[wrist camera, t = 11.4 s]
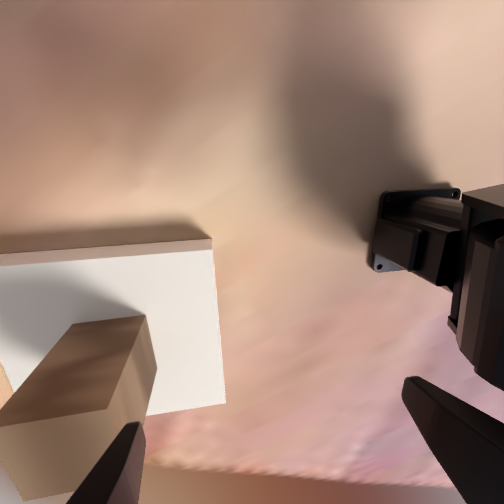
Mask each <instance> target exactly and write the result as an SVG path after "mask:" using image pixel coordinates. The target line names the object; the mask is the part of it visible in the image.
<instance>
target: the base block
mask: <svg viewBox="0 0 504 504" xmlns="http://www.w3.org/2000/svg"><path fill="white" fill-rule="evenodd" d="M140 315H146V318H147V322H148V327H149V332H150V336H151V341H152V345H153V350H154V355H155V359H156V364H157V372H156V376H155V380H154V384H153V388H152V392H151V396H150V400H149V405H148V409H147V413H146V416H148V415H154V414H161V413H167V412H173V411H179V410H185V409H192V408H198V407H204V406H210V405H217V404H223V403H226V399H225V384H224V372H223V360H222V349H221V337H220V326H219V314H218V303H217V291H216V279H215V268H214V256H213V245H212V239H199V240H186V241H172V242H159V243H145V244H131V245H118V246H104V247H91V248H77V249H63V250H50V251H36V252H23V253H9V254H0V361H1V363H2V366H3V368H4V370H5V372H6V375H7V377H8V379H9V381H10V384H11V386H12V388H13V390H14V393H15V392H16V391H17V389H18V388H19V387H20V386H21V385H22V383H23V382H24V381H25V380H26V379H27V377H28V376H29V375H30V374H31V373H32V372H33V370H34V369H35V368H36V367H37V366H38V364H39V363H40V362H41V361H42V360H43V358H44V357H45V356H46V355H47V354H48V352H49V351H50V350H51V349H52V348H53V347H54V345H55V344H56V343H57V342H58V341H59V339H60V338H61V337H62V336H63V335H64V333H65V332H66V331H67V330H68V329H69V327H70V326H71V325H72V324H75V323H83V322H91V321H99V320H107V319H116V318H124V317H132V316H140Z"/></svg>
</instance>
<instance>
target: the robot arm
mask: <svg viewBox="0 0 504 504" xmlns="http://www.w3.org/2000/svg"><path fill="white" fill-rule="evenodd" d="M452 193H453V196H452ZM460 194H461V191H460V189H458V188H434V189H416V190H397V191H385V192H384V193H382V195H381V197H380V202H379V210H378V218H377V221H376V228H375V235H374V243H373V255H372V263H371V268H372V270H374V271H376V272H389V271H399V270H407V271H408V272H412V273H414V274H416V275H417V276H419V277H421V278H423V279H425V280H427V281H428V282H430V283H432V284H434V285H436V286H440V287H442V288H444V289H446V290H447V291H449V292H451V293H453V296H452V305H451V314H450V316H448V323H447V324H448V326H449V327H450V328H451V329H452V331H453V332H454V333H455V335H456V340H457V343H458V346H459V349H460V351H461V352H462V353H463V354H464V356H465V357H466V358H467V359H468V360H469V361H470V363H471V364H472V365H474V371H475V373H476V374H478V375H479V376H480V377H482V378H483V379H485V380H486V381H487V382H489V383H490V384H492V385H493V386H495V387H497V388H499V389H501V390H502V391H504V184H501V185H496V186H492V187H487V188H482V189H478V190H473V191H468V192H464V193H462V199H461V200H459V199H460ZM388 195H389V199H388V200H386V198H387V196H388ZM379 264H380V265H379ZM378 265H379V267H378V268H377V266H378ZM401 395H402V400H403V402H404V404H405V406H406V408H407V409H408V411H409V413H410V415H411V416H412V418H413V420H414V422H415V424H416V425H417V427H418V429H419V431H420V432H421V434H422V436H423V438H424V439H425V441H426V443H427V445H428V446H429V448H430V450H431V451H432V453H433V454H434V456H435V457H436V459H437V460H438V462H439V463H440V465H441V466H442V468H443V469H444V471H445V472H446V474H447V475H448V477H449V478H450V480H451V481H452V483H453V484H454V486H455V487H456V488H457V490H458V491H459V493H460V494H461V496H462V497H463V499H464V500H465V502H466V503H467V504H504V423H502V422H500V421H498V420H497V419H495V418H493V417H491V416H489V415H488V414H486V413H484V412H482V411H480V410H478V409H477V408H475V407H473V406H471V405H469V404H468V403H466V402H464V401H462V400H460V399H459V398H457V397H455V396H453V395H451V394H450V393H448V392H446V391H444V390H442V389H441V388H439V387H437V386H435V385H433V384H432V383H430V382H428V381H426V380H424V379H422V378H421V377H418V376H411V377H406V378H405V380H404V384H403V389H402V394H401ZM145 447H146V440H145V435H144V431H143V427H142V423H141V422H140V421H135V422H129V423H127V424H125V425H124V427H123V428H122V429H121V431H120V432H119V433H118V435H117V436H116V437H115V439H114V440H113V441H112V443H111V444H110V445H109V447H108V448H107V449H106V451H105V452H104V453H103V455H102V456H101V457H100V459H99V460H98V461H97V463H96V464H95V465H94V467H93V468H92V469H91V471H90V472H89V473H88V475H87V476H86V477H85V479H84V480H83V481H82V483H81V484H80V485H79V487H78V488H77V489H76V491H75V492H74V493H73V495H72V496H71V497H70V499H69V500H68V501H67V503H66V504H138V500H139V493H140V484H141V477H142V470H143V462H144V455H145Z"/></svg>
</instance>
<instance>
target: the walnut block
mask: <svg viewBox="0 0 504 504" xmlns="http://www.w3.org/2000/svg"><path fill="white" fill-rule="evenodd" d="M156 372H157V364H156V359H155V355H154V350H153V345H152V341H151V336H150V332H149V327H148V322H147V318H146V315H140V316H132V317H124V318H116V319H107V320H99V321H91V322H83V323H75V324H72V325H71V326H70V327H69V329H68V330H67V331H66V332H65V333H64V335H63V336H62V337H61V338H60V339H59V341H58V342H57V343H56V344H55V345H54V347H53V348H52V349H51V350H50V351H49V352H48V354H47V355H46V356H45V357H44V358H43V360H42V361H41V362H40V363H39V364H38V366H37V367H36V368H35V369H34V370H33V372H32V373H31V374H30V375H29V376H28V377H27V379H26V380H25V381H24V382H23V383H22V385H21V386H20V387H19V388H18V389H17V391H16V392H15V393H14V394H13V395H12V397H11V398H10V399H9V400H8V401H7V402H6V404H5V405H4V406H3V407H2V408H1V410H0V460H1V462H2V463H3V465H4V467H5V469H6V471H7V472H8V474H9V476H10V478H11V479H12V481H13V483H14V485H15V487H16V488H17V490H18V492H19V494H20V496H21V497H22V499H23V501H28V500H33V499H38V498H43V497H48V496H53V495H58V494H62V493H68V492H73V491H76V489H77V488H78V487H79V485H80V484H81V483H82V481H83V480H84V479H85V477H86V476H87V475H88V473H89V472H90V471H91V469H92V468H93V467H94V465H95V464H96V463H97V461H98V460H99V459H100V457H101V456H102V455H103V453H104V452H105V451H106V449H107V448H108V447H109V445H110V444H111V443H112V441H113V440H114V439H115V437H116V436H117V435H118V433H119V432H120V431H121V429H122V428H123V427H124V425H125V424H127V423H129V422H135V421H140V422H141V423H142V427H143V425H144V421H145V417H146V413H147V409H148V405H149V400H150V396H151V392H152V388H153V384H154V380H155V376H156Z"/></svg>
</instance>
